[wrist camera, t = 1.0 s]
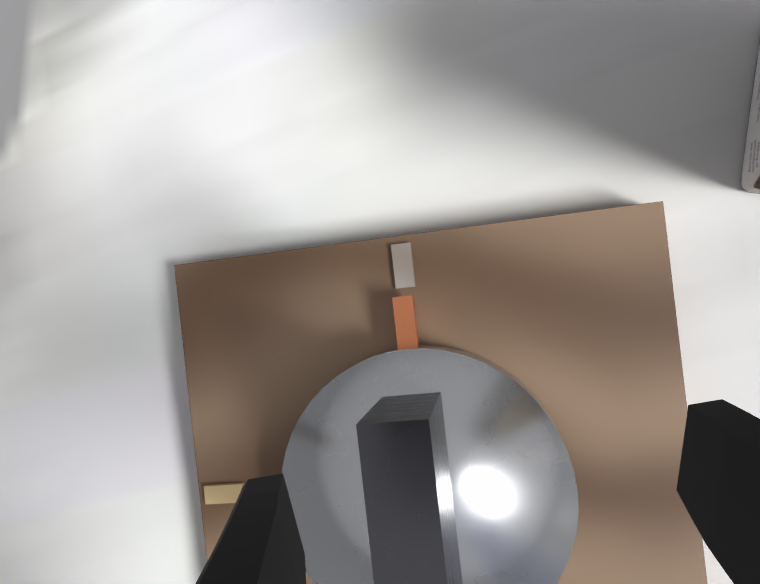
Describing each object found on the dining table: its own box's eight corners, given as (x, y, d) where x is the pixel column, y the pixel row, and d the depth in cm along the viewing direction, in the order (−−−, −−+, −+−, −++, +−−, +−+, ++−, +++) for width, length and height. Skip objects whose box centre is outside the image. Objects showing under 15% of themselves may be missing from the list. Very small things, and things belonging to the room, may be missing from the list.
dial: (587, 620, 20) (623, 741, 15) (310, 623, 22) (252, 732, 17) (548, 279, 21) (570, 278, 15) (275, 310, 22) (206, 319, 17)
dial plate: (708, 703, 21) (727, 739, 20) (241, 697, 25) (223, 727, 23) (650, 206, 21) (664, 200, 20) (193, 266, 25) (171, 265, 23)
